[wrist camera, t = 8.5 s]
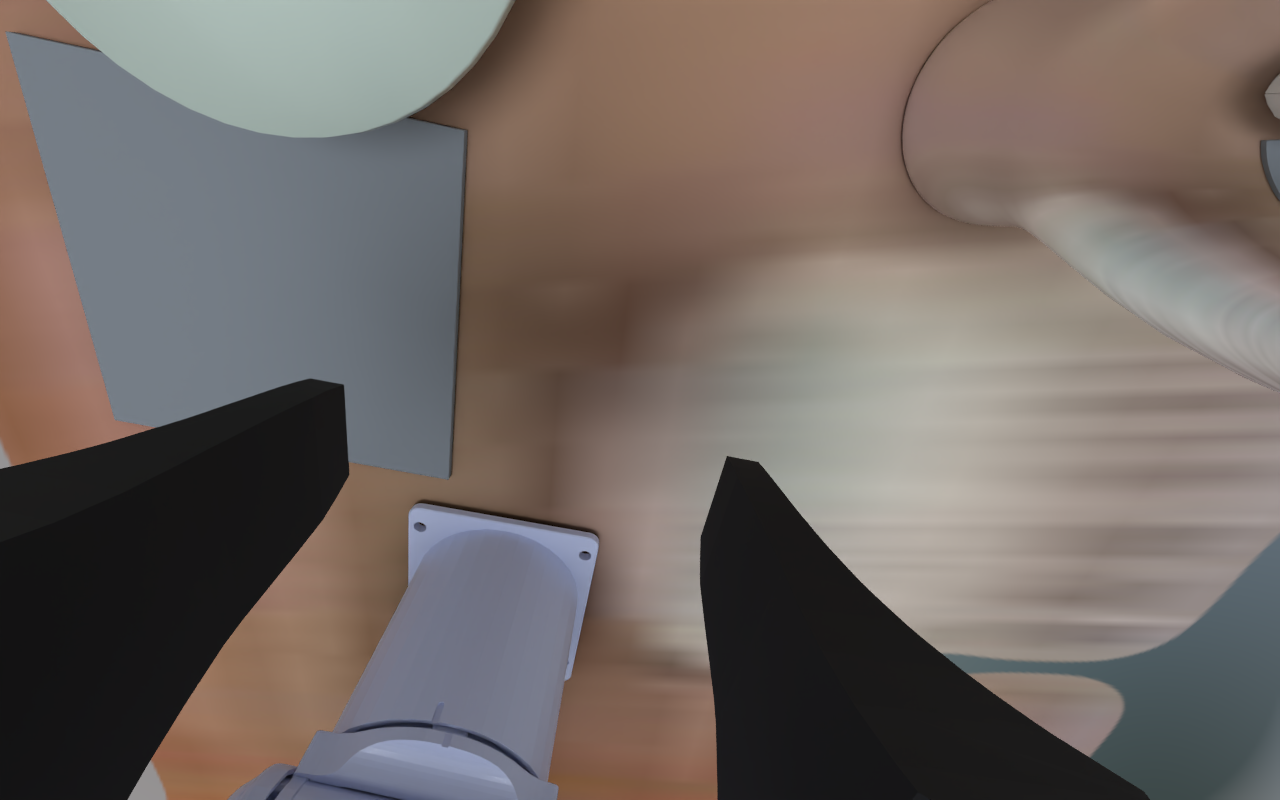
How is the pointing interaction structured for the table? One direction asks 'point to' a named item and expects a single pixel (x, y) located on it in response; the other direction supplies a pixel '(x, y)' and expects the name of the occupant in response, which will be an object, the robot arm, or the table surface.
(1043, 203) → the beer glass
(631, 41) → the table surface
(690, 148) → the table surface
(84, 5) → the lid
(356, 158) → the mat
